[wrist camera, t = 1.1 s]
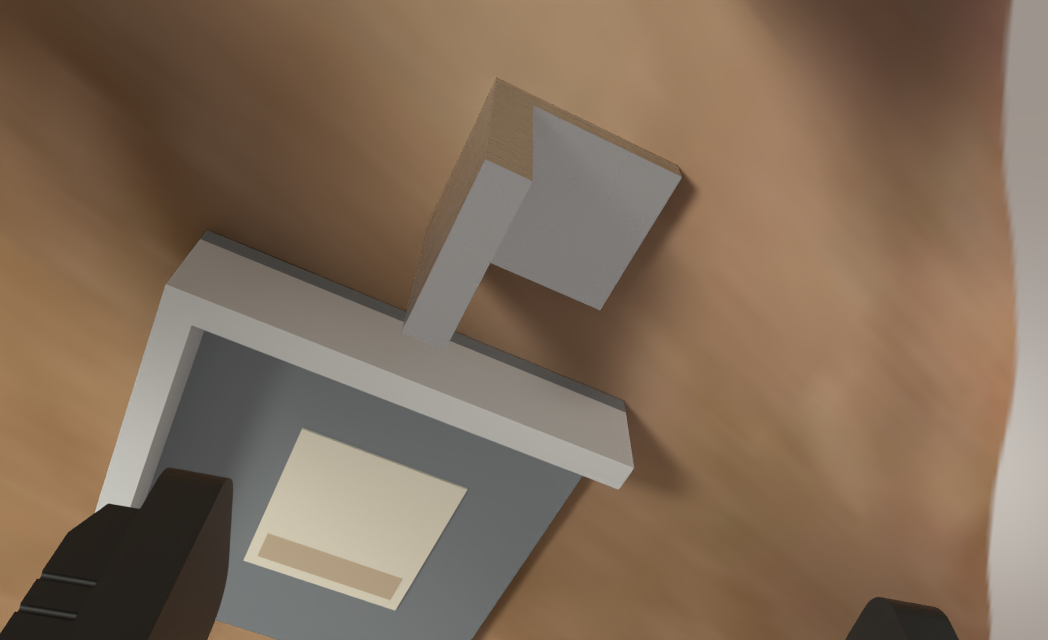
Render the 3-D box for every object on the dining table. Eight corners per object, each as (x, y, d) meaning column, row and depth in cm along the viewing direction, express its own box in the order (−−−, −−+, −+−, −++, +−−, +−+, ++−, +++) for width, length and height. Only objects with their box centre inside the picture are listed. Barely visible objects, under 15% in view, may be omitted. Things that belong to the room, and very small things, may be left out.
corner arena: (96, 568, 42) (54, 641, 38) (207, 229, 33) (165, 284, 29) (438, 676, 46) (430, 752, 42) (624, 401, 37) (634, 468, 33)
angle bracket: (428, 221, 33) (401, 332, 26) (496, 77, 30) (485, 159, 23) (598, 295, 34) (614, 419, 27) (677, 164, 31) (717, 266, 25)
